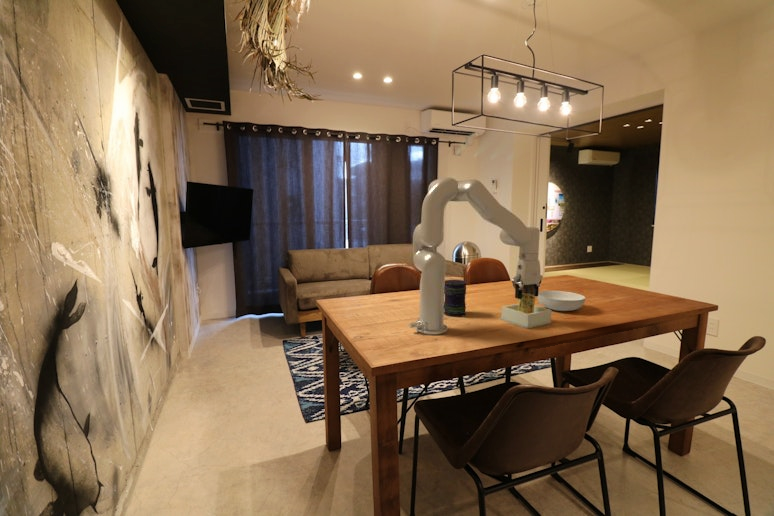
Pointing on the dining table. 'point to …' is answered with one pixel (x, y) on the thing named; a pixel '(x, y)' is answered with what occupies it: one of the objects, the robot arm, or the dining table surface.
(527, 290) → the sauce bottle
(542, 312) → the bin
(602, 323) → the dining table surface
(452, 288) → the rusty oil drum
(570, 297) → the serving bowl
